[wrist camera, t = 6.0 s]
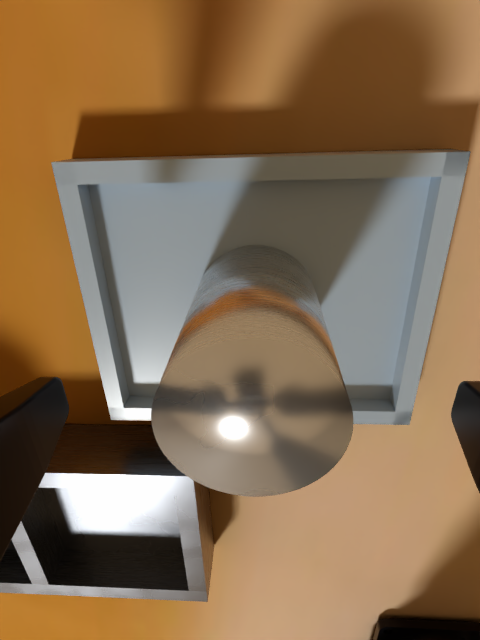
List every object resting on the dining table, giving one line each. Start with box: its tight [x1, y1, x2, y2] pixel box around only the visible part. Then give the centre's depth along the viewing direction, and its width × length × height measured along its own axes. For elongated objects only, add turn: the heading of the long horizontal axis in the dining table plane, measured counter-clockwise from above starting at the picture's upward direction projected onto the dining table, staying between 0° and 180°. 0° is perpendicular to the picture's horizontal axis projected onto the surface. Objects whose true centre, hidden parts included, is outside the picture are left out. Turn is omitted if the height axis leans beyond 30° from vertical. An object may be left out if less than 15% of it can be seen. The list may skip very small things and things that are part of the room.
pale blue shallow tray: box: [51, 149, 470, 425], centre depth 13 cm, size 11×9×1 cm
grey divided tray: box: [0, 424, 214, 602], centre depth 17 cm, size 15×8×3 cm, turn 92°
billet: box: [151, 245, 353, 496], centre depth 10 cm, size 4×4×6 cm
